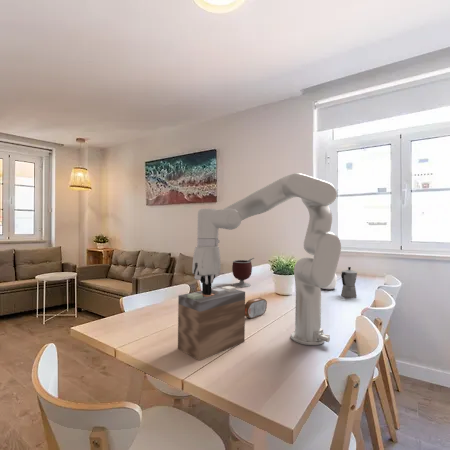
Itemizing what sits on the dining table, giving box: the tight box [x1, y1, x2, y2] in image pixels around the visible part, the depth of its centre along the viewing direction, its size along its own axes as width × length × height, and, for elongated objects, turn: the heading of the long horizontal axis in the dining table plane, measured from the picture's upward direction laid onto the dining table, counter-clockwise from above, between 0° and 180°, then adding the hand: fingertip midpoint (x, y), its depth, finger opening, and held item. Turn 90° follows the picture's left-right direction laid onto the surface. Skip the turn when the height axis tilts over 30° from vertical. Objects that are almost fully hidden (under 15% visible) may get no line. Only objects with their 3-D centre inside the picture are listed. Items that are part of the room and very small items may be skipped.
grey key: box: [211, 287, 226, 294], centre depth 109 cm, size 4×4×2 cm
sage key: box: [186, 292, 203, 300], centre depth 101 cm, size 4×4×2 cm
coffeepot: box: [340, 266, 358, 299], centre depth 180 cm, size 15×9×18 cm, turn 129°
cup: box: [321, 273, 338, 290], centre depth 201 cm, size 13×13×14 cm
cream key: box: [221, 285, 237, 292], centre depth 113 cm, size 4×4×2 cm
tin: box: [245, 297, 268, 319], centre depth 140 cm, size 15×3×8 cm, turn 135°
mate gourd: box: [231, 257, 255, 288], centre depth 206 cm, size 16×14×20 cm
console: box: [177, 286, 246, 362], centre depth 107 cm, size 12×22×19 cm, turn 134°
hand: (206, 294), depth 105 cm, fingers closed
